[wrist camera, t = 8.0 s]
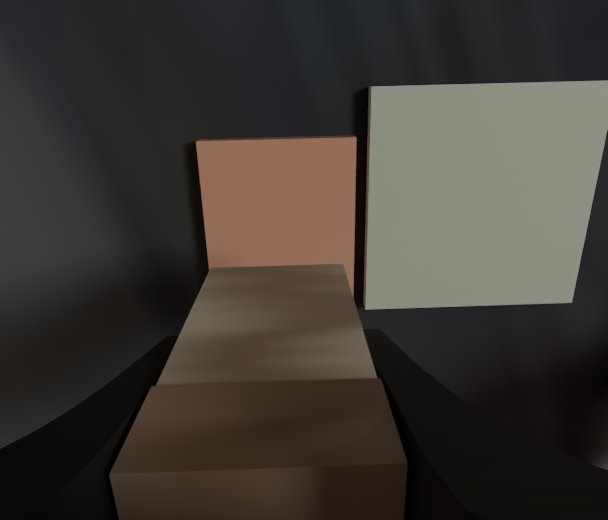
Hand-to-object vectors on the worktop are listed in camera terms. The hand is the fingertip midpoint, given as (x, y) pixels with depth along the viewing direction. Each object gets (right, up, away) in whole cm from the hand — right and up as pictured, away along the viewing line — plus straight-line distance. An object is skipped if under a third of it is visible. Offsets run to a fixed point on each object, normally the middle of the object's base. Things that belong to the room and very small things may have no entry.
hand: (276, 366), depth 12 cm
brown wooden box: (0, +1, +3) cm, 3 cm away
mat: (+8, +5, +7) cm, 12 cm away
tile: (0, +1, +9) cm, 9 cm away
